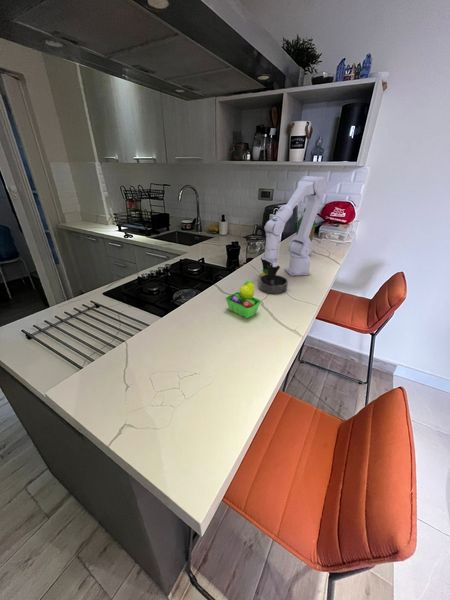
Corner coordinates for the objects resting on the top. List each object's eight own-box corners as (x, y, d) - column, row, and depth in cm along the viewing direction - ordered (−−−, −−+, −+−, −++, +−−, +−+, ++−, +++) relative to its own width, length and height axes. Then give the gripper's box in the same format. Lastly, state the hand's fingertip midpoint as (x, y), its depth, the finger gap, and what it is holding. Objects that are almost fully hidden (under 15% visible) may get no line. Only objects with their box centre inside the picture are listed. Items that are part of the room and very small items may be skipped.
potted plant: (312, 257, 151) (322, 207, 138) (294, 256, 151) (302, 206, 138) (307, 251, 161) (316, 204, 147) (290, 251, 161) (297, 203, 147)
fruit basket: (224, 309, 96) (224, 282, 91) (239, 301, 102) (240, 275, 97) (247, 321, 90) (249, 292, 84) (262, 312, 95) (265, 284, 90)
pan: (281, 281, 120) (282, 274, 118) (290, 293, 109) (292, 285, 107) (255, 282, 118) (256, 275, 116) (263, 294, 108) (263, 286, 106)
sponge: (261, 277, 124) (262, 269, 121) (273, 277, 124) (274, 268, 122) (264, 281, 120) (264, 272, 118) (275, 280, 121) (276, 271, 119)
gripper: (258, 243, 120) (256, 270, 127) (267, 253, 108) (264, 282, 114) (273, 243, 121) (269, 270, 128) (283, 252, 109) (279, 282, 115)
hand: (268, 276), depth 121 cm, fingers open, 7 cm apart
